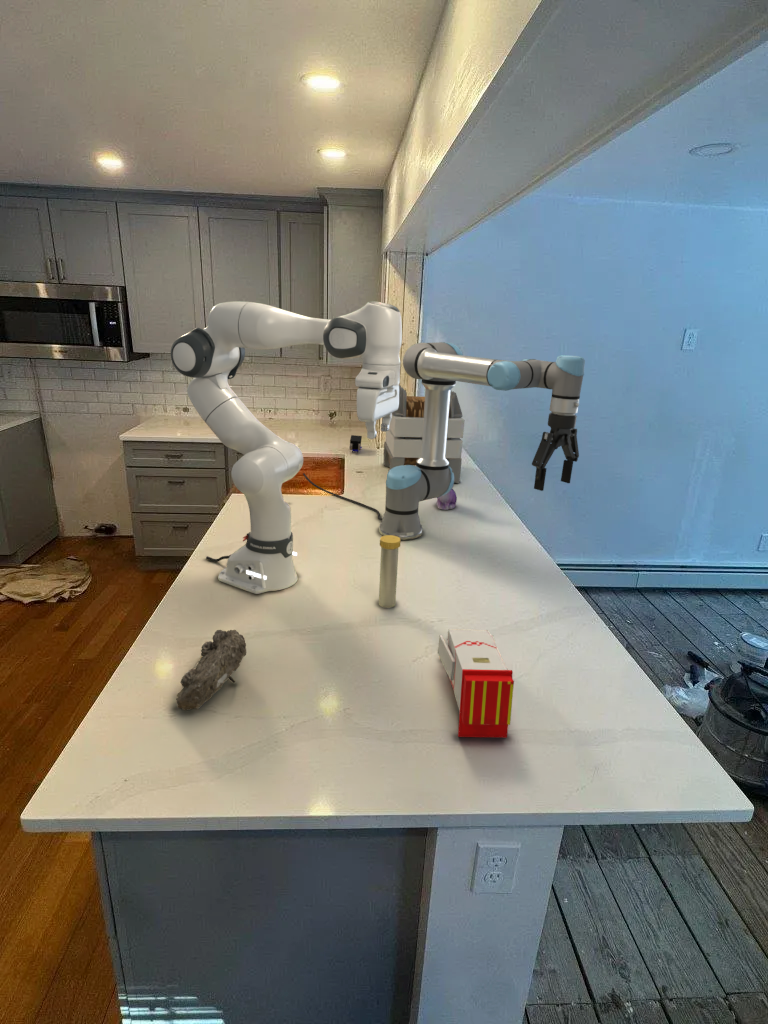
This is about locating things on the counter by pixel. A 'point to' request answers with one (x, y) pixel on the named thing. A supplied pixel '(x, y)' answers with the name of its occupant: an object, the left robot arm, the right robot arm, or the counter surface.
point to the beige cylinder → (388, 577)
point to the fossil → (212, 669)
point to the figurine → (447, 500)
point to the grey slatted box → (409, 429)
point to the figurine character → (355, 443)
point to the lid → (390, 542)
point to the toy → (478, 682)
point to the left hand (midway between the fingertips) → (378, 434)
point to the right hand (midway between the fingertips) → (552, 485)
